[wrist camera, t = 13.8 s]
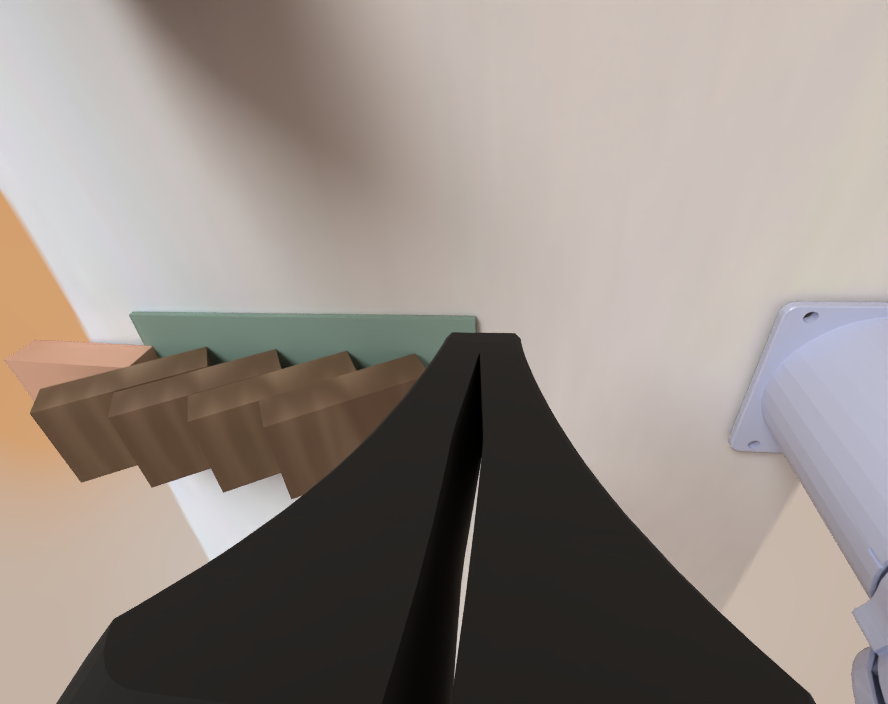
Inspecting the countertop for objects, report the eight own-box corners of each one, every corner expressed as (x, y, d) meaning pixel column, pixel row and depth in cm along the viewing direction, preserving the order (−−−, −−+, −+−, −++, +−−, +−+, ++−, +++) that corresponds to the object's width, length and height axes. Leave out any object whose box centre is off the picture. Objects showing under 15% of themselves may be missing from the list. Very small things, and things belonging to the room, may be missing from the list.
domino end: (127, 368, 23) (4, 360, 24) (164, 434, 25) (51, 424, 26) (152, 346, 24) (34, 339, 25) (185, 411, 27) (76, 402, 28)
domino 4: (429, 374, 21) (263, 427, 19) (436, 445, 23) (291, 499, 21) (414, 353, 22) (258, 400, 20) (423, 422, 25) (285, 470, 23)
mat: (475, 316, 21) (475, 319, 21) (478, 444, 26) (478, 448, 25) (133, 311, 23) (128, 315, 23) (192, 430, 28) (189, 434, 28)
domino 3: (356, 371, 21) (187, 421, 19) (371, 441, 24) (223, 492, 22) (346, 350, 23) (187, 395, 21) (361, 419, 25) (221, 465, 23)
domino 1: (207, 366, 22) (29, 413, 20) (236, 434, 25) (81, 482, 23) (206, 346, 24) (40, 388, 22) (233, 412, 26) (87, 456, 24)
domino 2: (281, 368, 22) (108, 417, 20) (303, 437, 24) (151, 487, 22) (275, 348, 23) (113, 392, 21) (297, 416, 26) (154, 460, 24)
